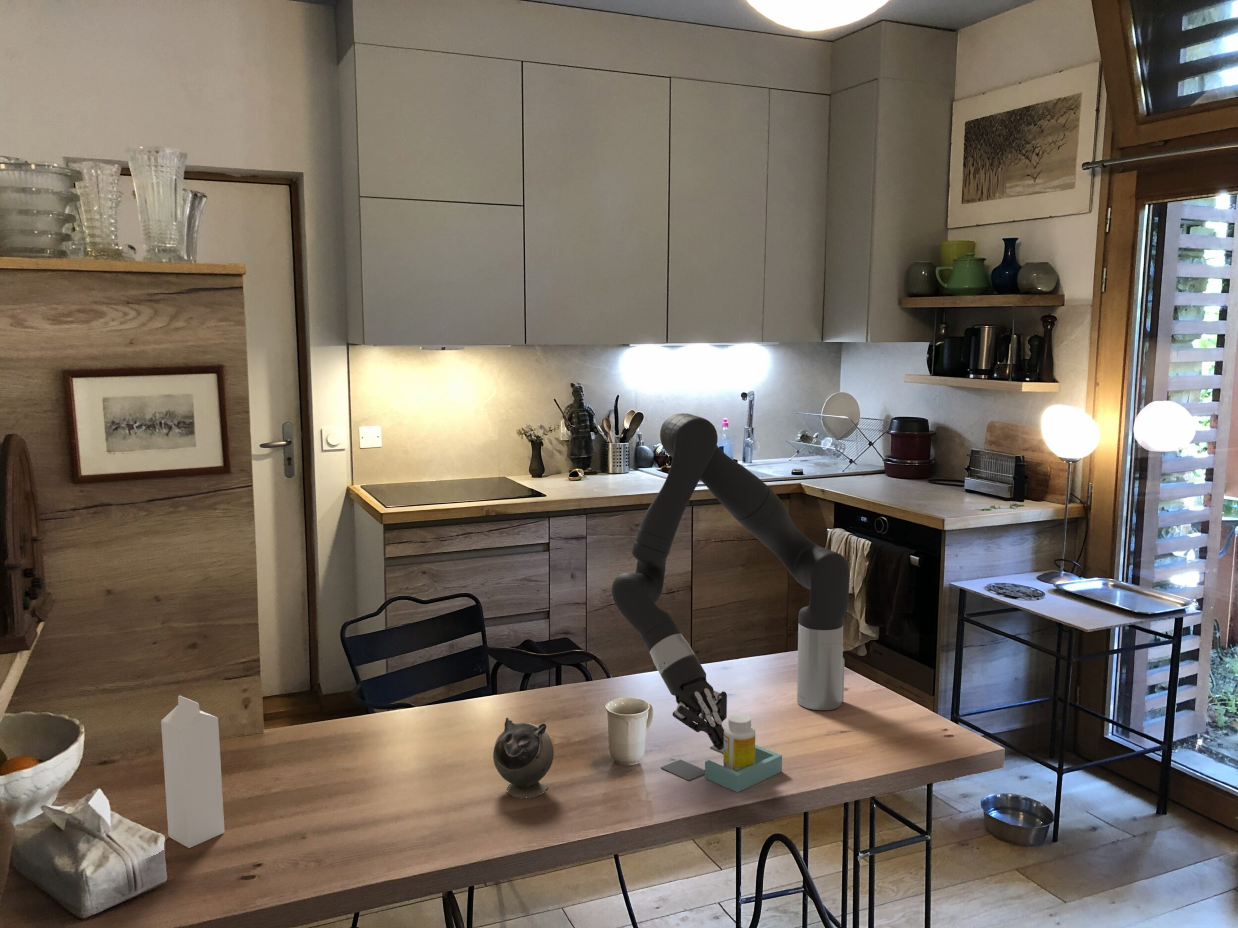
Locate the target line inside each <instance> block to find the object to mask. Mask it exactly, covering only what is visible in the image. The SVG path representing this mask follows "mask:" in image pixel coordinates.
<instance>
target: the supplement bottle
mask: <svg viewBox="0 0 1238 928" xmlns="http://www.w3.org/2000/svg"><path fill="white" fill-rule="evenodd" d="M727 724H728V725H726V726H725V727H724V728H723V729H724V754H723V765H722V766H724V767H727V768H729V769H731V770H734V771H736V772H738V771H740V770H742V769H745V768H747V767H749V766H751V765H753V764H755V745H756V730H755V729H754V727H752V718H751V717H750V716H748V715H746V714H741V713H736V714H735V713H734V714H732V715H729V716H728V722H727Z"/></svg>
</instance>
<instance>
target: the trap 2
mask: <svg viewBox="0 0 1238 928" xmlns="http://www.w3.org/2000/svg"><path fill="white" fill-rule="evenodd" d="M709 749H711V750H714V751H716V752H718V753H721V754H723V755H724V749H722V750H718V749H717V748H716V747H715V746H714V745H712V746H710V747H709Z"/></svg>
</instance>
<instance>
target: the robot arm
mask: <svg viewBox="0 0 1238 928" xmlns="http://www.w3.org/2000/svg"><path fill="white" fill-rule="evenodd" d="M660 427H661V428H660V430H659V431H660V432H659V438H660V443H661V446H662V448H663V449H664V451H665V452H666V453H667V455H669V456H670V458H671V459H672V460H671V463H670V464H671V465H670V468H669V471H668V474H667V477H666V478H665V481H664V483H663V485H662V487H661V489H659V491H658V493H657V495H656V496H655V497H654V499H653V500H652V502H651V503H650V505H649V507H648V509H646V512H645V513H644V516H643V518H642V520H641V522H640V526H639V527H638V528H639V529H638V531H637V534H636V535H635V541H633V546H632V549H631V554H632V556H633V557H634V559H636V560H637V562H636V568H635V572H623V573H621V574H619V575H617V576H616V577H615V578H614V580H613V582H612V583H611V584H612V585H611V596H612V599H613V602H614V604H615V606H616V608H617V609H618V611H619V612H620V613H621V614H622V616H624V618H625V620H626V621H628V623H629V624H630V625H631V626H632V627H633V628H634V629H635V631H637V632H638V634H639V636H640V638H641V639H642V642H643V644H644V646H645V647H646V649H647V650H648V653H649V655H650V656H651V659H652V661H653V664H654V667H656V670H657V671H658V673H659V675H660V677H661V679H662V681H663V682H664V684H665V685H666V687H667V690H668V692H669V693H670V694H671V695H672V696H675V702H676V703H677V706H676V709H675V710H674V711H673V712H672V716H673V718H675V719H676V720H678V721H679V722H681V723H682V724H684V725H686V726H687V727H688V728H690V729H691V730H693V731H695V733H700V732H703V733H705V734H707V736H708V737H709V740H710V741H711V743H712V746H715V747H716V748H717V749H718V750H722V749H724V729H725V728H724V727H723V725H722V723H723V722H724V721H725V720H726V719H727V715H728V712H727V711H728V709H727V708H728V693H727V692H726V691H724V690H723V691H721V692H718V691H716V690H714V688H713V687H714V686H712V685H711V684H710V682H708V681H707V673H706V671H705V670H704V667H703V666H702V664H701V662H700V661H699V659H698V657H697V655H696V654H695V652H694V650H693V649H692V647H691V645H690V644H689V642H688V641H687V640H686V638H685V637H684V636H683V634H682V632H681V631H680V629H679V627H678V625H677V624H676V622H675V620H674V618H673V617H672V616H671V615H670V614H669V612H667V611H665V610H663V609H661V608H659V607H658V605H657V602H659V600H660V597H661V596H662V593H663V588H664V583H665V577H666V576H665V574H666V564H667V563H666V562H667V559H668V556H669V553H670V551H671V548H672V545H673V542H674V539H675V537H676V533H677V531H678V527H679V525H680V523H681V520H682V517H683V515H684V513H685V510H686V509H687V506H688V503H689V502H690V500H691V498H692V495H693V494H694V492H695V489H696V488H697V485H698V483H699V482H700V481H701V482H702V483H703V485H704V486H705V487H706V488H707V489H708V490H709V491H710V492H711V494H713V496H714V497H715V499H717V500H718V502H719V503H720V504H721V505H722V506H723V507H724V508H725V509H726V510H727V512H728V513H730V515H732V517H733V518H734V519H735V520H736V521H737V522H738V523H740V525H741V526H743V528H745V529H746V530H747V531H748V532H749V533H750V534H751V535H752V536H753V537H755V538H756V539H757V540H758V541H759V542H760V543H761V544H762V545H764V546H765V547H767V549H769V550H770V551H771V552H772V553H773V554H774V555H775V556H776V557H777V558H778V560H779V561H780V562H781V563H782V565H783V566H784V567H785V568H786V569H787V571H788V572H789V574H791V576H792V577H793V578H794V580H795V581H796V582H797V583H799V584H800V585H801V587H803V588H805V589H807V590H809V591H810V592H809V602H808V603H809V604H808V605H807V606H803V607H802V608H800V610H799V612H798V628H797V629H798V631H797V641H798V642H797V676H796V677H797V679H796V683H797V684H796V685H797V686H796V687H797V689H796V690H797V691H796V696H797V697H796V702H797V704H798V705H800V706H801V707H803V708H806V709H809V710H815V711H832V710H835V709H838V708H840V707H841V706H842V703H843V702H844V700H845V699H844V698H845V697H844V696H845V695H844V693H845V689H844V688H845V658H844V656H843V654H844V653H843V652H844V651H843V650H844V649H843V648H844V620H845V619H844V618H845V616H846V614H847V611H848V608H849V596H850V586H851V585H850V582H851V581H850V580H851V571H850V565H849V563H848V560H847V559H846V558H845V556H844V555H842V554H840V553H838V552H836V551H833V550H831V549H827V548H825V547H822V546H820V545H818V544H817V543H815V542H814V541H812V540H811V539H810V538H808V537H807V536H806V535H805V534H804V533H803V532H802V531H801V530H799V529H798V527H797V526H796V525H795V523H794V522H793V520H792V518H791V516H790V513H789V510H788V509H787V506H786V505H785V504H784V502H783V501H782V499H781V498H780V497H779V496H778V495H777V493H775V492H774V491H773V490H772V489H771V488H770V487H769V486H768V485H767V484H766V483H765V482H764V481H763V480H762V479H761V478H760V477H759V476H757V475H755V474H754V473H753V472H751V471H750V470H749V469H748V468H746V467H745V466H743V465H742V464H740V463H739V462H737V461H736V460H735V459H732V458H731V457H730V456H729V455H728V454H726V453H725V452H724V451H723V450H722V449H721V448H720V446H718V440H719V439H718V430H717V429H716V427H715V425H714V424H713V423H712V422H710V421H709V420H708V419H706V418H704V417H701V416H698V415H694V414H690V413H675V414H673V415H671V416H668V417H667V418H666V419H665V420H664V421H663V422H662V425H661V426H660Z"/></svg>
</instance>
